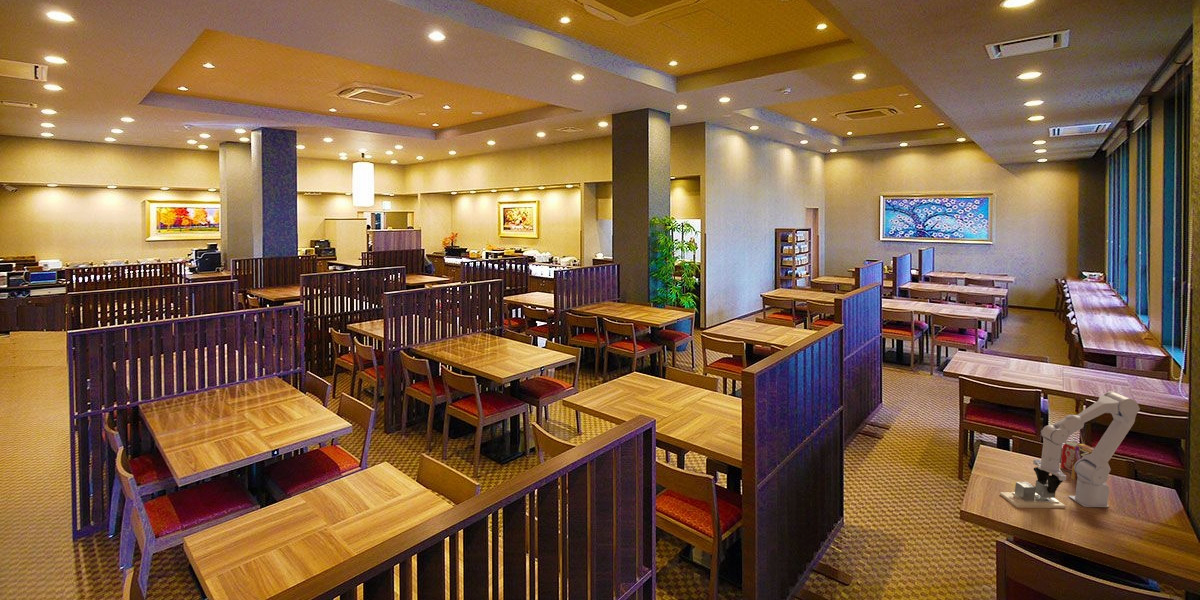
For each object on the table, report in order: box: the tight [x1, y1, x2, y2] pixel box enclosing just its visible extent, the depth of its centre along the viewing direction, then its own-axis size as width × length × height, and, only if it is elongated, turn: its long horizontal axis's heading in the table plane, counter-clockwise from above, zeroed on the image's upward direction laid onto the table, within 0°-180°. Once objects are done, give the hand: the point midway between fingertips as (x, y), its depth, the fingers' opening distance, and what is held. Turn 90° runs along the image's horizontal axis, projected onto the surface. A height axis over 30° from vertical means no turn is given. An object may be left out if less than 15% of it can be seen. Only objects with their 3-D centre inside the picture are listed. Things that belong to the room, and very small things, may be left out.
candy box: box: [1070, 443, 1095, 482], centre depth 242 cm, size 9×4×15 cm, turn 12°
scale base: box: [999, 491, 1066, 509], centre depth 228 cm, size 18×10×1 cm, turn 89°
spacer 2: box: [1034, 479, 1056, 499], centre depth 228 cm, size 4×4×5 cm
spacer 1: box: [1014, 481, 1036, 500], centre depth 228 cm, size 4×4×5 cm
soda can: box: [1059, 440, 1080, 473], centre depth 254 cm, size 7×7×12 cm
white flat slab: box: [1011, 491, 1060, 503], centre depth 229 cm, size 13×7×1 cm, turn 89°
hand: (1046, 489), depth 228 cm, fingers closed on spacer 2, 4 cm apart
